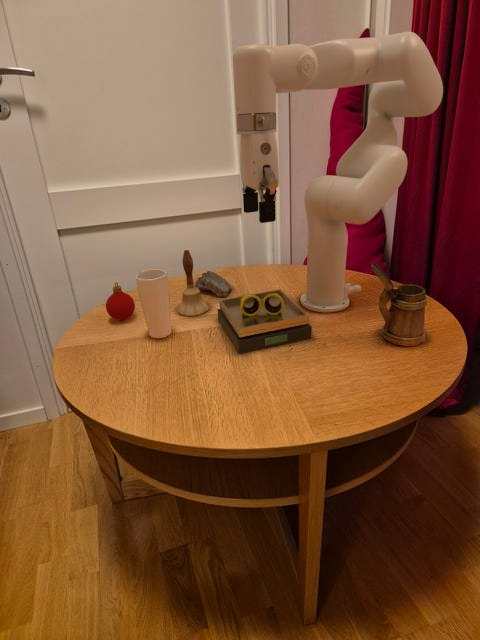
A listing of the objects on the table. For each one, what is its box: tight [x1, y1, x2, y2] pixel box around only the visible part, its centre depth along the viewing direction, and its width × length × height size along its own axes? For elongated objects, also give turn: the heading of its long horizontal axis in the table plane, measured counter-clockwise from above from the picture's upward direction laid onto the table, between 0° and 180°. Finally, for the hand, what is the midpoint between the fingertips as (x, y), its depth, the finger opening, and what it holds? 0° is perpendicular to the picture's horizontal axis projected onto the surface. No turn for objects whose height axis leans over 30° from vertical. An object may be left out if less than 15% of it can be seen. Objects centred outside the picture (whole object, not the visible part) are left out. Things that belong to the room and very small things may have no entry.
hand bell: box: [177, 249, 210, 317], centre depth 103 cm, size 8×8×16 cm
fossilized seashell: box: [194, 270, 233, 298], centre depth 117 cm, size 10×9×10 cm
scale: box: [217, 308, 313, 355], centre depth 95 cm, size 17×17×4 cm
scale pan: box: [218, 288, 310, 337], centre depth 94 cm, size 16×16×2 cm
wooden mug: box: [370, 262, 428, 347], centre depth 85 cm, size 9×14×18 cm, turn 99°
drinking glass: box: [135, 268, 173, 339], centre depth 93 cm, size 7×7×15 cm
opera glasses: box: [240, 293, 284, 316], centre depth 93 cm, size 10×5×5 cm, turn 90°
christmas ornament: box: [105, 281, 136, 321], centre depth 102 cm, size 7×7×10 cm
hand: (258, 216), depth 84 cm, fingers open, 9 cm apart
